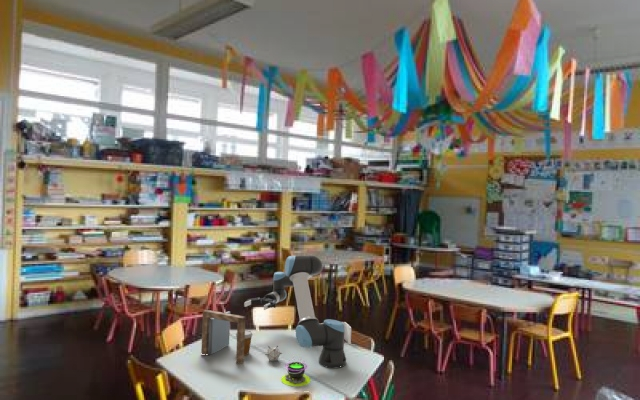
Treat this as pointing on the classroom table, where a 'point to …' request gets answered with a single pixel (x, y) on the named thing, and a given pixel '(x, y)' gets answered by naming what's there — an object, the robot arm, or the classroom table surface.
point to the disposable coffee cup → (247, 341)
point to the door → (218, 334)
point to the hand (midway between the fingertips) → (254, 306)
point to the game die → (273, 354)
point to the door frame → (227, 317)
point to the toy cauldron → (295, 374)
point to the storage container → (346, 332)
